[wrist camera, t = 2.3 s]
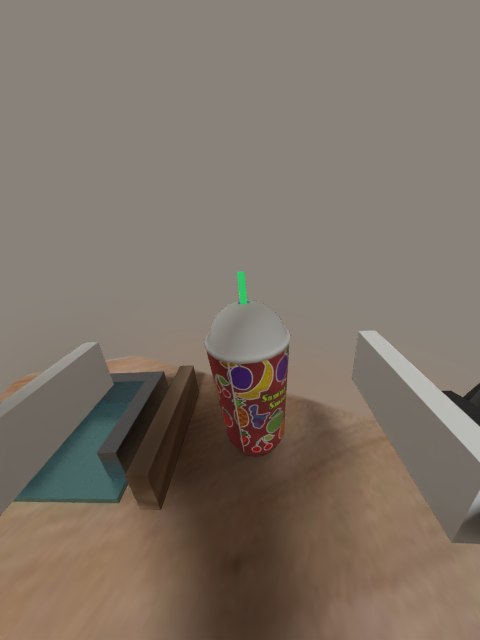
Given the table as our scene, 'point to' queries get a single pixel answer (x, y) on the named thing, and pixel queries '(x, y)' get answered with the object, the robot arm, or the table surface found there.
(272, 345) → the smoothie
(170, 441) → the walnut rail
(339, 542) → the table surface
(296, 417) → the table surface
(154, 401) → the keyed cradle
